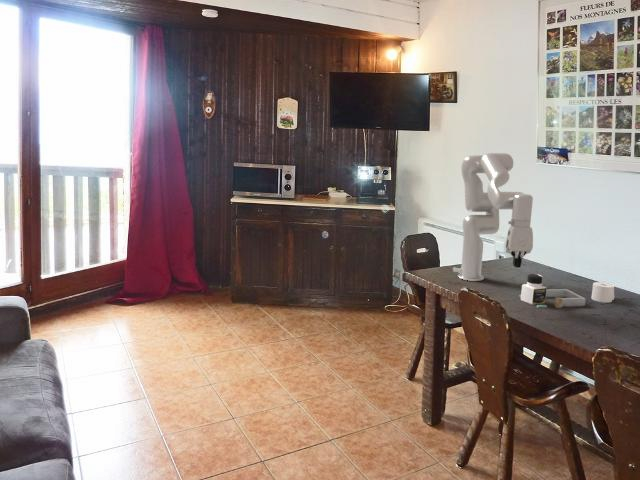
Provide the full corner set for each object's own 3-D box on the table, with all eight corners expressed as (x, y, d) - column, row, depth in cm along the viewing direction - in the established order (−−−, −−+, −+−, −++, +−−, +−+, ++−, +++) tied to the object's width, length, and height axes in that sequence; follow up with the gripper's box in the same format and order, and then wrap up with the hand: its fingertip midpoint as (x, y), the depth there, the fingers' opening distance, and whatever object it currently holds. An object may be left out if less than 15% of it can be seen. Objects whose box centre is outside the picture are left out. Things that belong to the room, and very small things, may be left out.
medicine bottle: (532, 305, 235) (535, 277, 232) (520, 300, 241) (522, 273, 239) (545, 303, 237) (548, 276, 235) (532, 298, 244) (535, 272, 241)
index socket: (561, 306, 234) (562, 298, 233) (544, 296, 247) (544, 289, 247) (584, 306, 235) (585, 298, 234) (566, 296, 249) (566, 289, 248)
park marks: (537, 307, 231) (537, 305, 231) (519, 296, 247) (519, 294, 246) (546, 307, 232) (546, 305, 232) (527, 296, 247) (528, 294, 247)
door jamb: (556, 308, 231) (557, 298, 231) (535, 295, 249) (536, 286, 248) (561, 307, 232) (562, 298, 231) (539, 295, 249) (540, 286, 248)
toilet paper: (614, 297, 249) (616, 283, 247) (610, 303, 240) (612, 288, 238) (594, 294, 253) (596, 279, 252) (589, 300, 244) (591, 284, 243)
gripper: (507, 225, 227) (504, 269, 230) (542, 225, 229) (538, 268, 232) (499, 222, 234) (496, 264, 237) (533, 222, 236) (529, 264, 239)
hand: (516, 266), depth 235 cm, fingers closed
